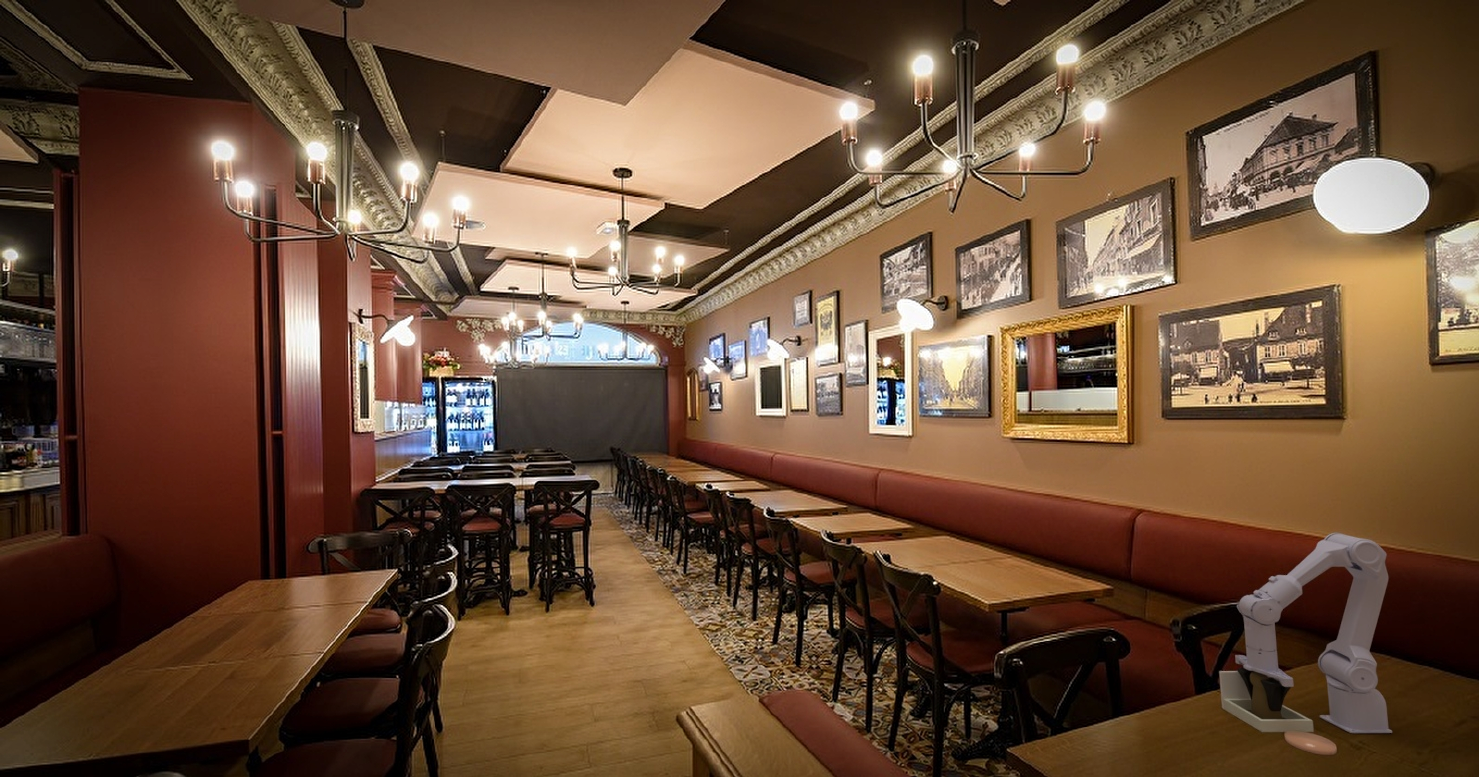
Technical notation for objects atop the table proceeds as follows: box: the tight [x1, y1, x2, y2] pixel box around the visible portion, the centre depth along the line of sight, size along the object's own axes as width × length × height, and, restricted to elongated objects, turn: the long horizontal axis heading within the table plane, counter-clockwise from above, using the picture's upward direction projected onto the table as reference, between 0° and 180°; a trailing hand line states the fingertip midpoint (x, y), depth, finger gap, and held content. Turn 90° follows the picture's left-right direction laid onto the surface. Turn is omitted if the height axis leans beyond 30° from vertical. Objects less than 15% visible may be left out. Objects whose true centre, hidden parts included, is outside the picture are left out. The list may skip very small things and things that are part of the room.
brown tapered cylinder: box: [1250, 671, 1283, 719], centre depth 146 cm, size 6×6×11 cm
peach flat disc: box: [1284, 731, 1338, 756], centre depth 134 cm, size 8×8×1 cm
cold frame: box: [1218, 670, 1315, 733], centre depth 146 cm, size 12×12×9 cm
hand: (1265, 705), depth 146 cm, fingers closed on brown tapered cylinder, 5 cm apart
